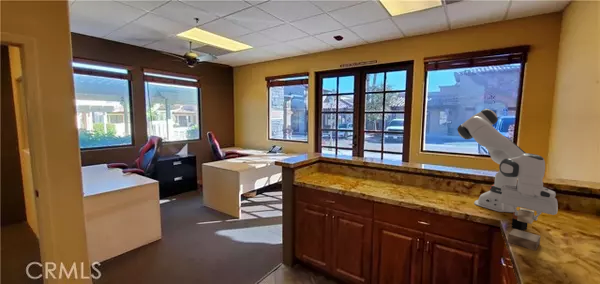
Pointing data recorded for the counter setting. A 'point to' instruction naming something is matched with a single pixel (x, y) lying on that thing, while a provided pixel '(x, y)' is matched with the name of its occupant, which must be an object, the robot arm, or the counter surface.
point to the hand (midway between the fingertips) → (525, 217)
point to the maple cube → (525, 215)
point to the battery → (518, 223)
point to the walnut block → (524, 239)
